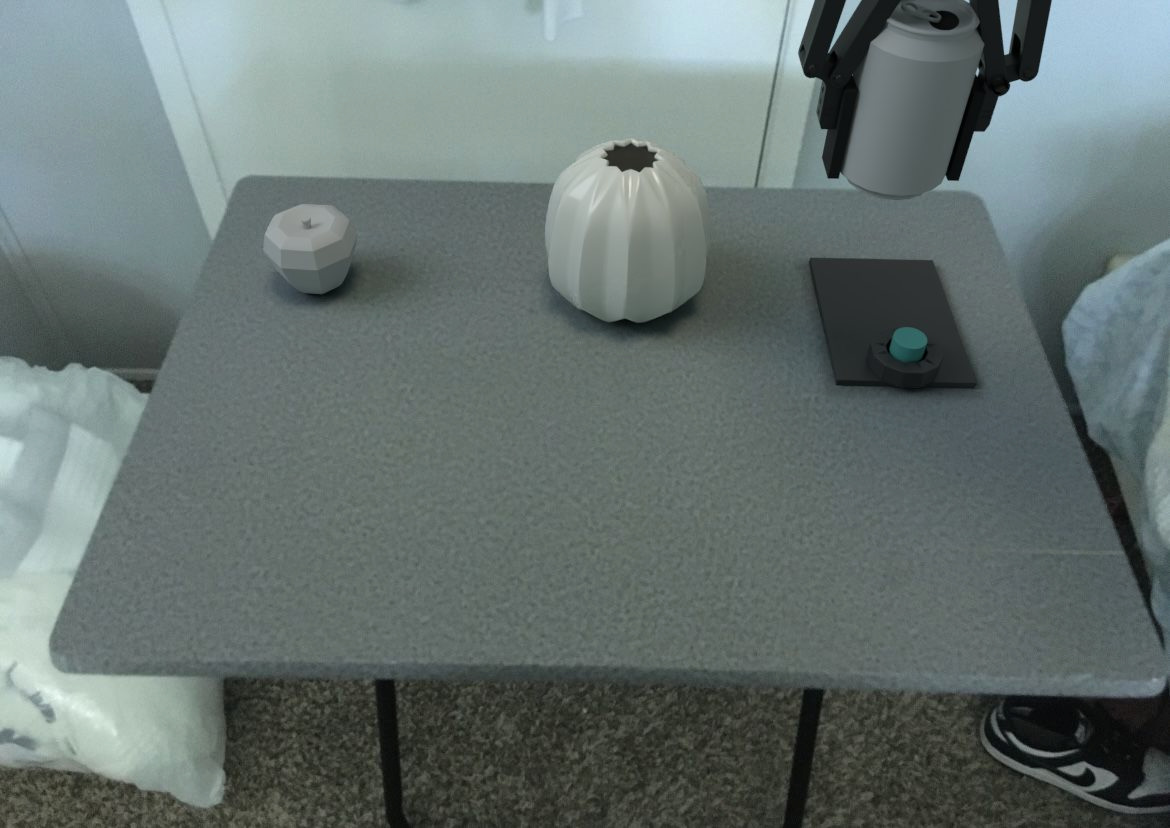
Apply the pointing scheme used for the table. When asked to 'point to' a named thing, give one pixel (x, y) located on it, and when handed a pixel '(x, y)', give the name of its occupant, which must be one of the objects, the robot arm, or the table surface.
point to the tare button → (908, 345)
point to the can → (912, 98)
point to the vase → (628, 231)
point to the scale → (888, 322)
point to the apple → (311, 246)
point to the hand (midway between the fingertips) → (889, 168)
